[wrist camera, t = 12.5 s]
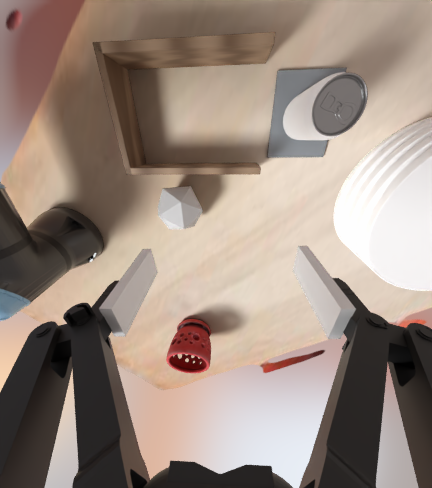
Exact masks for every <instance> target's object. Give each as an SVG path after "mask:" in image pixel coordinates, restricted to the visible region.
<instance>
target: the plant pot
mask: <svg viewBox="0 0 432 488" xmlns="http://www.w3.org/2000/svg"><path fill="white" fill-rule="evenodd" d="M210 334H211V330H210V328H209V326H208V325H207V324H206V323H204V322H203V321H200V320H197V319H187V320H184V321H182V322H181V323H180V324H179V325H178V327H177V333H176V335H175V336H174V338H173V340H172V342H171V345H170V348H169V351H168V354H167V363H168V364H169V366H171V367H172V368H174V369H176V370H178V371H181V372H185V373H201V372H204V371H206V370H207V369H208V368H209V366H210V359H211V343H210V338H209V336H210ZM177 354H182V358H181V359H179V358H178V356H177ZM185 354H188V355H187V356H186V355H185ZM173 355H175V356H174V357H173ZM191 355H194V356H195V357H194V358H191ZM198 357H200V359H198ZM186 358H188V359H189V362H185V359H186ZM193 361H195V363H193ZM200 362H202V363H201V364H200Z"/></svg>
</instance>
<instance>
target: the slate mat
mask: <svg viewBox="0 0 432 488" xmlns="http://www.w3.org/2000/svg"><path fill="white" fill-rule="evenodd" d="M346 69H347V68H327V69H303V70H279V71H278V72H277V80H276V89H275V97H274V105H273V114H272V122H271V130H270V138H269V147H268V155H267V157H323V156H324V152H325V148H326V144H327V141H328V140H295V139H292V138H290V137H289V136H288V135H287V134H286V132H285V130H284V127H283V116H284V113H285V110H286V108H287V106H288V105H289V103H290V102H291V101H292V100H293V99H294V98H295V97H296V96H298V95H299V94H301V93H302V92H304V91H305V90H307V89H308V88H310V87H311V86H313V85H315V84H316V83H318V82H319V81H321V80H322V79H324V78H326V77H328V76H330V75H332V74H335V73H340V72H345V73H346Z"/></svg>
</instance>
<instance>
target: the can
mask: <svg viewBox="0 0 432 488" xmlns="http://www.w3.org/2000/svg"><path fill="white" fill-rule="evenodd" d="M367 97H368V91H367V86H366V83H365V81H364V80H363V79H362V78H361V77H360V76H359V75H357V74H355V73H345V72H340V73H335V74H332V75H330V76H328V77H326V78H324V79H322V80H321V81H319V82H318V83H316V84H315V85H313V86H311V87H310V88H308V89H307V90H305V91H304V92H302V93H301V94H299V95H298V96H296V97H295V98H294V99H293V100H292V101H291V102H290V103H289V105H288V106H287V108H286V110H285V113H284V116H283V127H284V130H285V132H286V134H287V135H288V136H289V137H290V138H292V139H295V140H329V139H333V138H335V137H337V136H339V135H341V134H342V133H344V132H346V131H347V130H349V129H350V128H351V127H352V126H353V125H354V124H355V123H356V122H357V121H358V120H359V118H360V117H361V115H362V113H363V111H364V109H365V106H366V103H367Z"/></svg>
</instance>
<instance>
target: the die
mask: <svg viewBox="0 0 432 488" xmlns="http://www.w3.org/2000/svg"><path fill="white" fill-rule="evenodd" d="M202 212H203V209H202V207H201V205H200V203H199V201H198V199H197V198H196V196H195V194H194V192H193V190H192V188H191V186H186V187H174V188H163V190H162V194H161V197H160V201H159V205H158V216H159V217H160V218H161V220H162V221H163V222H164V223H165V224H166V226H167V227H168V228H169V229H186V228H189V227H192V226H195V224H196V222H197V220H198V219H199V217H200V215H201V213H202Z"/></svg>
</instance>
